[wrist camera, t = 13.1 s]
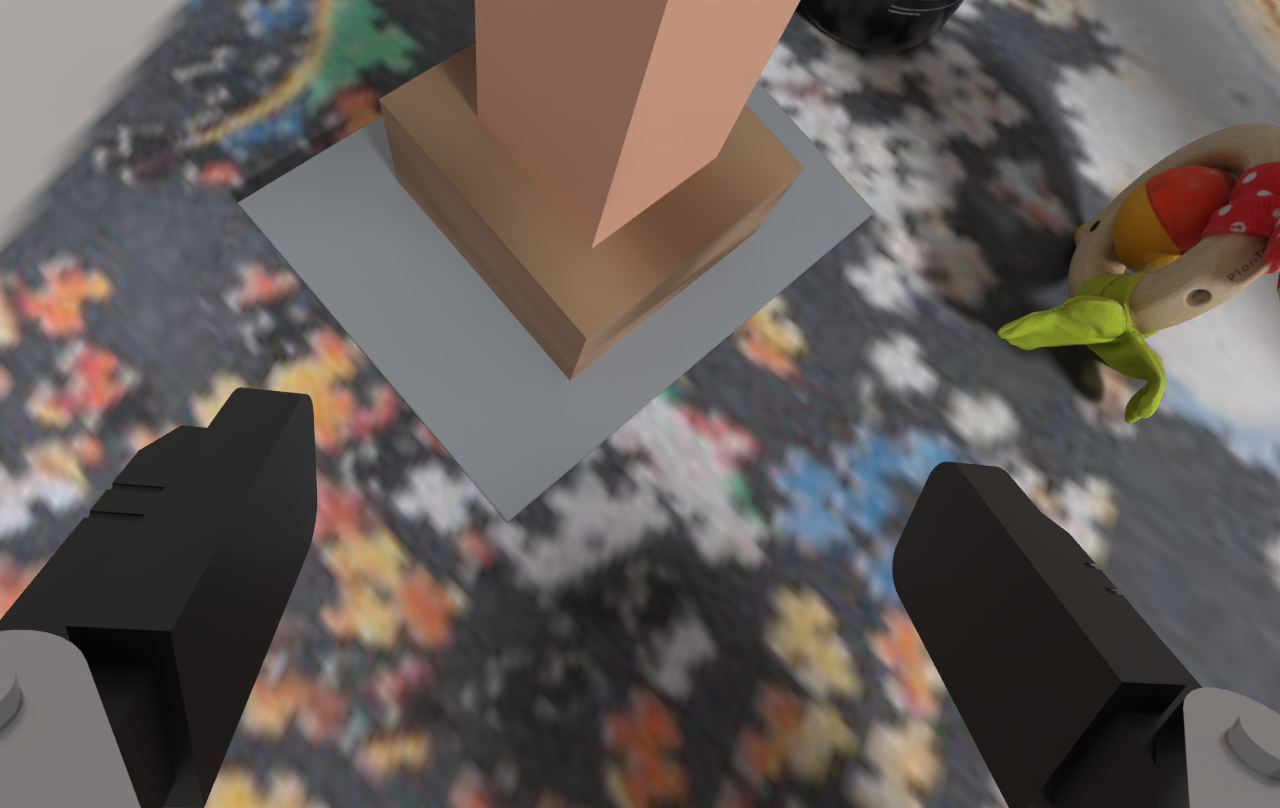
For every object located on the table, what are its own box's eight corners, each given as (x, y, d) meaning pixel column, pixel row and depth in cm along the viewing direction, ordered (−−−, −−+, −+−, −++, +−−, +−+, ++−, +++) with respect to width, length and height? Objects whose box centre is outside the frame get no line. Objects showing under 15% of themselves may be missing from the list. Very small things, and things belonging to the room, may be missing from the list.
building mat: (641, -33, 27) (644, -44, 26) (867, 218, 26) (874, 211, 26) (243, 211, 22) (237, 202, 22) (507, 522, 22) (507, 521, 21)
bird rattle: (973, 236, 30) (973, 399, 24) (1242, -50, 21) (1345, 92, 15) (1107, 308, 30) (1139, 485, 24) (1422, 57, 22) (1589, 234, 16)
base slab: (596, 53, 25) (615, -42, 21) (755, 232, 25) (804, 168, 21) (397, 180, 23) (379, 99, 19) (569, 380, 22) (586, 338, 19)
